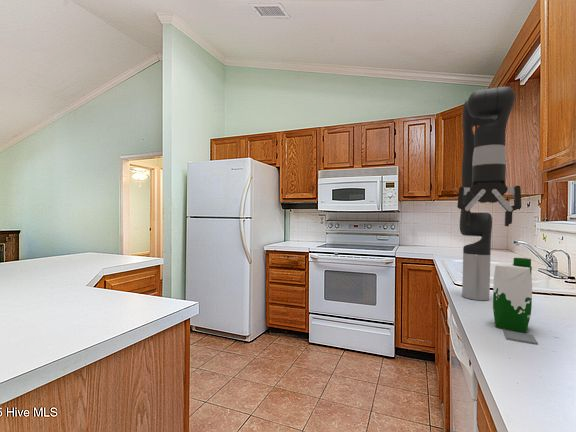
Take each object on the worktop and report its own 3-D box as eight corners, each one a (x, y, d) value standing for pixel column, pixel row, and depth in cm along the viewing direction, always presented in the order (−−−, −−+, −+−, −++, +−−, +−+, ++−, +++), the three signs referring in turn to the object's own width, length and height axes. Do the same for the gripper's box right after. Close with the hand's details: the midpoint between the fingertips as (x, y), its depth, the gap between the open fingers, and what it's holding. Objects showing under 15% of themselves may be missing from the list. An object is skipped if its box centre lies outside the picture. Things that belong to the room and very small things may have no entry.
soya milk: (530, 335, 86) (532, 261, 86) (490, 327, 92) (492, 257, 91) (531, 326, 93) (533, 258, 92) (494, 319, 98) (496, 254, 98)
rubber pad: (503, 331, 88) (503, 329, 88) (532, 336, 85) (532, 334, 85) (506, 339, 83) (506, 337, 83) (537, 344, 80) (537, 343, 80)
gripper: (519, 165, 84) (517, 226, 85) (458, 167, 91) (456, 224, 91) (524, 160, 78) (522, 227, 78) (458, 163, 85) (456, 225, 85)
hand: (487, 225), depth 85 cm, fingers open, 8 cm apart
